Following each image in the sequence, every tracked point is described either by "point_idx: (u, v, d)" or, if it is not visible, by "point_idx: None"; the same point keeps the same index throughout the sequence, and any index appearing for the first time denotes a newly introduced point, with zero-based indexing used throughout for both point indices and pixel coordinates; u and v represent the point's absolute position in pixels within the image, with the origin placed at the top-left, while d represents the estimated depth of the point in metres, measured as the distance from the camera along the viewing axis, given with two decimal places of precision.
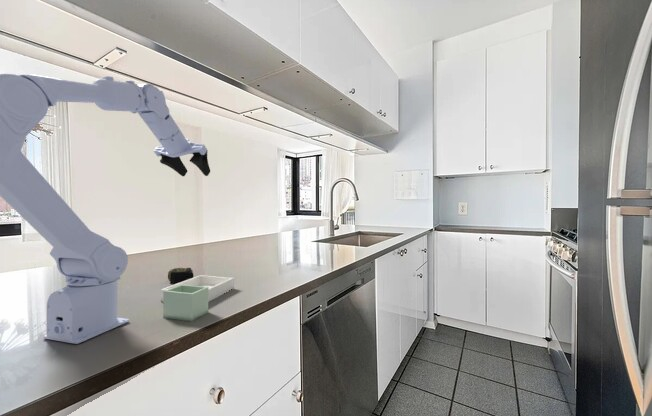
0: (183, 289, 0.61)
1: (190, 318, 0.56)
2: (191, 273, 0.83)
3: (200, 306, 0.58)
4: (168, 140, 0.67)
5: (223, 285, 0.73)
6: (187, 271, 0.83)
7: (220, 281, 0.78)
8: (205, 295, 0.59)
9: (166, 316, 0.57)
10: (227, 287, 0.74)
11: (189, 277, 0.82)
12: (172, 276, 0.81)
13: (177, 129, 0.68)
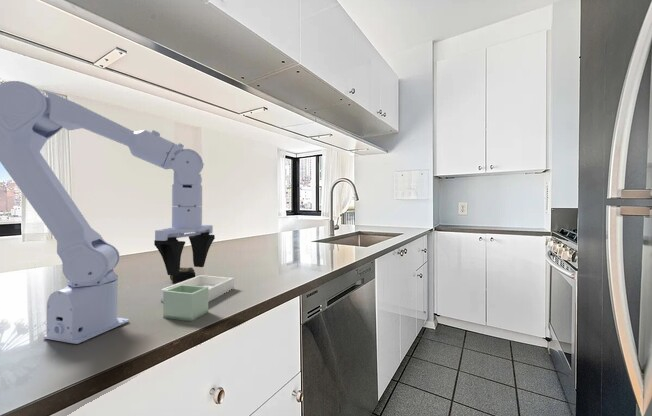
0: (183, 289, 0.61)
1: (190, 318, 0.56)
2: (193, 273, 0.83)
3: (200, 306, 0.58)
4: None
5: (223, 285, 0.73)
6: (189, 271, 0.84)
7: (220, 281, 0.78)
8: (205, 295, 0.59)
9: (166, 316, 0.57)
10: (227, 287, 0.74)
11: (191, 277, 0.83)
12: (174, 276, 0.81)
13: (190, 204, 0.56)
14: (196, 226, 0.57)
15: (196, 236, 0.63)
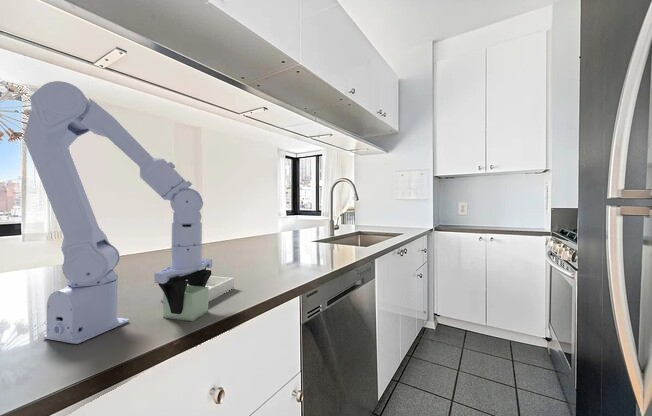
0: None
1: (190, 318, 0.56)
2: None
3: (200, 306, 0.58)
4: None
5: (223, 285, 0.73)
6: None
7: (220, 281, 0.78)
8: (205, 295, 0.59)
9: (166, 316, 0.57)
10: (227, 287, 0.74)
11: None
12: None
13: (189, 243, 0.56)
14: (196, 264, 0.58)
15: (192, 272, 0.62)
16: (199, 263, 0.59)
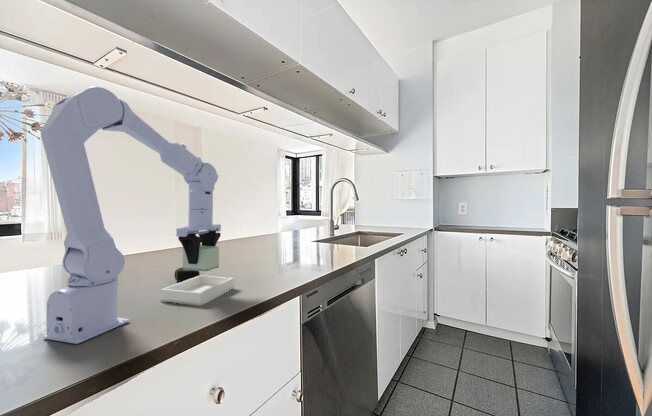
0: None
1: (204, 269, 0.69)
2: (197, 272, 0.84)
3: (213, 261, 0.71)
4: None
5: (223, 285, 0.73)
6: (193, 270, 0.84)
7: (220, 281, 0.78)
8: (216, 252, 0.72)
9: (185, 268, 0.70)
10: (227, 287, 0.74)
11: (195, 276, 0.84)
12: (179, 275, 0.82)
13: (209, 207, 0.71)
14: (208, 225, 0.71)
15: (205, 234, 0.75)
16: (211, 224, 0.72)
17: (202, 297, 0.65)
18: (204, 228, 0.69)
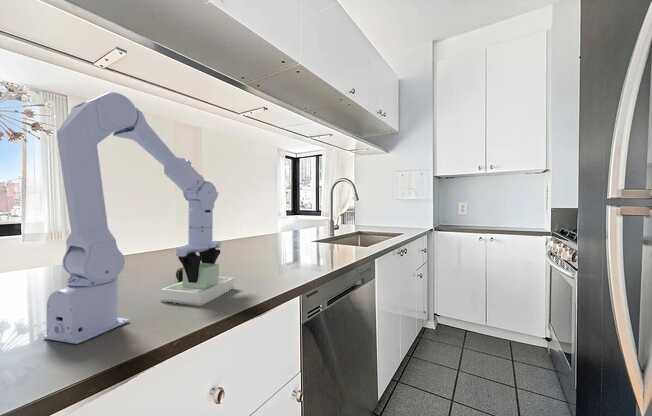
0: None
1: (204, 287, 0.69)
2: None
3: (212, 279, 0.71)
4: None
5: (223, 285, 0.73)
6: None
7: (220, 281, 0.78)
8: (216, 270, 0.72)
9: (185, 286, 0.70)
10: (227, 287, 0.74)
11: None
12: (180, 275, 0.82)
13: (209, 225, 0.71)
14: (208, 243, 0.71)
15: (205, 251, 0.75)
16: (211, 242, 0.72)
17: (202, 297, 0.65)
18: (204, 247, 0.69)
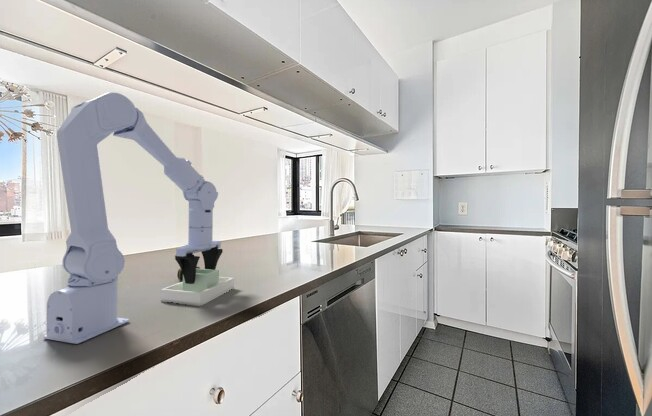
0: (198, 272, 0.74)
1: None
2: None
3: (213, 285, 0.71)
4: None
5: (223, 285, 0.73)
6: None
7: (220, 281, 0.78)
8: (216, 276, 0.73)
9: None
10: (227, 287, 0.74)
11: None
12: (182, 275, 0.83)
13: (209, 225, 0.71)
14: (208, 243, 0.71)
15: (207, 250, 0.76)
16: (211, 242, 0.72)
17: (202, 297, 0.65)
18: (204, 247, 0.69)
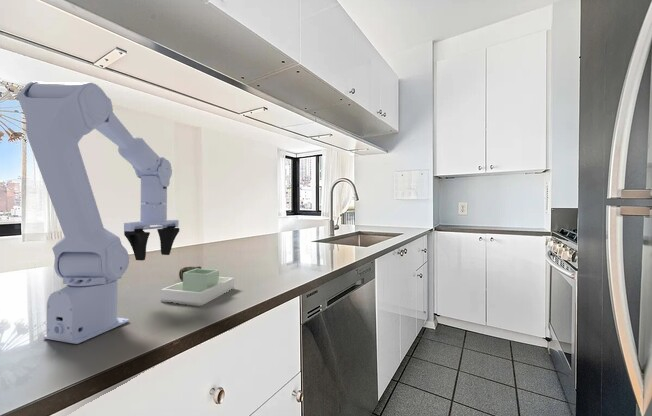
0: (198, 272, 0.74)
1: None
2: None
3: (213, 285, 0.71)
4: None
5: (223, 285, 0.73)
6: None
7: (220, 281, 0.78)
8: (216, 276, 0.73)
9: None
10: (227, 287, 0.74)
11: None
12: None
13: (166, 202, 0.71)
14: (160, 220, 0.69)
15: (163, 229, 0.74)
16: (164, 219, 0.70)
17: (202, 297, 0.65)
18: (155, 223, 0.68)
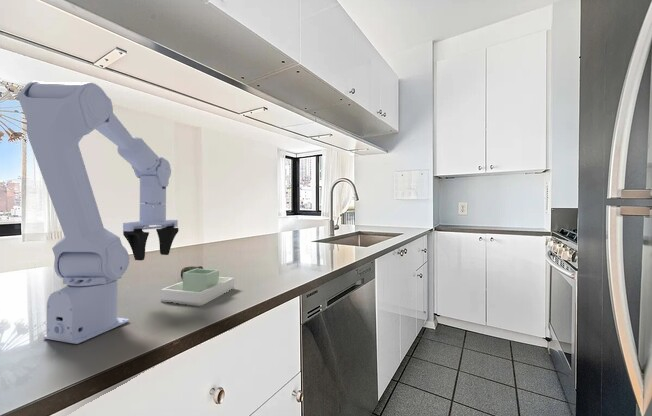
0: (198, 272, 0.74)
1: None
2: None
3: (213, 285, 0.71)
4: None
5: (223, 285, 0.73)
6: None
7: (220, 281, 0.78)
8: (216, 276, 0.73)
9: None
10: (227, 287, 0.74)
11: None
12: None
13: (165, 202, 0.71)
14: (160, 220, 0.69)
15: (162, 229, 0.74)
16: (163, 219, 0.70)
17: (202, 297, 0.65)
18: (155, 223, 0.68)
